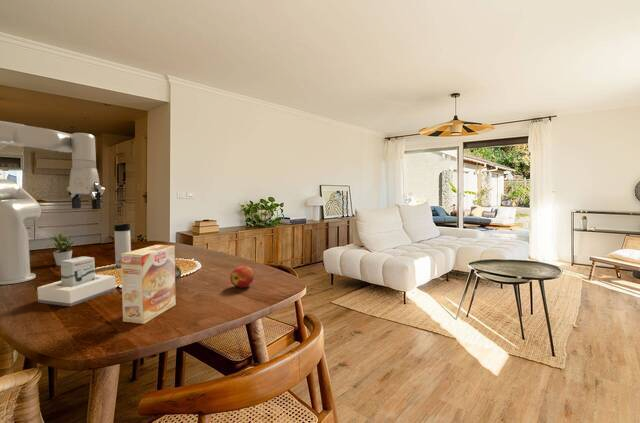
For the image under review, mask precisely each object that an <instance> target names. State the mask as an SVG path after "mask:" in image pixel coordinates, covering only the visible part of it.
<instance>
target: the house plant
mask: <svg viewBox="0 0 640 423" xmlns="http://www.w3.org/2000/svg"><path fill="white" fill-rule="evenodd" d="M64 233H65V231H63V232H61V233H60V231H57V235H58V236H57V235H56V234H55V233H53V232H51V235H52V236H50V235H47V234H46V235H45V237H46V239H47V238H48V239H49V238H50V240H51V241H52V242H54V243H53V245H52V244H50V245H49V244H48V245H47V246H46V249H47V248H48V247H49V248H50V247H51V248H53V247H56V250H54V251H53V252H52V254H53V257H54V260H55V264H56V266H59V267H61V261H63V260H68V259H72V255H73V250H72V249H71V248H72V247H73V246H76V245H78V244H77V243H76V242H75V241H73V240H71V239H72V237H73V234H71V235H70V237H69V238H68V235H65V236H64ZM77 235H78V233H77V234H75V236H77ZM53 240H54V241H53ZM75 243H76V244H75Z"/></svg>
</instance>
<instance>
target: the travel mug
mask: <svg viewBox="0 0 640 423" xmlns="http://www.w3.org/2000/svg"><path fill="white" fill-rule="evenodd" d="M113 226H114V227H113V229H114V230H113V231H114V252H115V253H114V255H115V256H114V257H115V267H116V268H121V254H123V253H127V252H131V251H132V247H131V246H132V244H131V229H130V227H131V225H130V223H123V224H115V225H113Z"/></svg>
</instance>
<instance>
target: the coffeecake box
mask: <svg viewBox="0 0 640 423" xmlns="http://www.w3.org/2000/svg"><path fill="white" fill-rule="evenodd" d="M175 247H176V246H175V245H171V244H154V245H150V246H147V247H144V248H139V249H135V250H131V252H127V253H123V254H121V267H120V269H121V296H122V297H121V298H122V303H121V304H122V322H125V323H133V324H143V325H145V324H146V323H148V322H149V321H151V320H153V319H154V318H156V317H158V316H159V315H161V314H163V313H165V312H166V311H167V310H169V309H171V308H172V307H174V306H176V305H177V304H176V302H177V300H176V283H175V264H176V261H175V260H176V257H175V256H176V254H175V252H176V251H175V249H176V248H175Z"/></svg>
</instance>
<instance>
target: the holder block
mask: <svg viewBox="0 0 640 423" xmlns="http://www.w3.org/2000/svg"><path fill="white" fill-rule="evenodd" d="M116 279H117V278H116V275H108V274H107V275H106V274H96V273H95V280H93V281H90V282H86V283H83V284H80V285H77V286H74V287H65V286H62V283H61V280H58V281H54V282H52V283H47V284H45V285H41V286H38V287H36V288H37V289H36V290H37V301H38V302H37V303H38V304H39V303H41V304H47V305H48V304H49V305H56V306H64V307H72V306H75V305H78V304H81V303H83V302H87V301H90V300H92V299H94V298H97V297H100V296H103V295H105V294H108V293H110V292H114V291H116V290H117V283H116V282H117V280H116Z"/></svg>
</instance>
